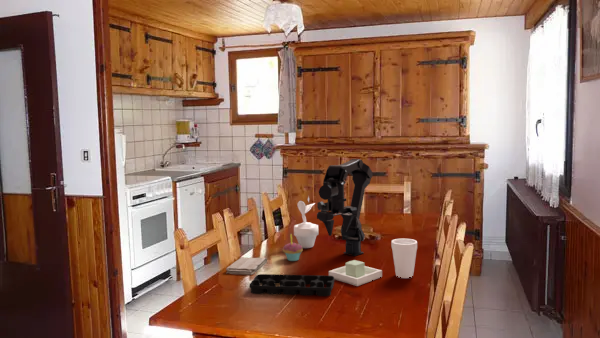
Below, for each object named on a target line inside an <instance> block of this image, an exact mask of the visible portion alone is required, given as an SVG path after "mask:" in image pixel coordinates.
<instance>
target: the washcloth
mask: <svg viewBox="0 0 600 338" xmlns="http://www.w3.org/2000/svg"><path fill="white" fill-rule="evenodd" d="M267 263H268V259H267V257H239V258H238V259H237V260H236V261H234V262H233V263H231V264H230V265H229V266H227V267H226V269H225V270H226V272H225V273H226V274H229V275H230V274H231V275H242V276H243V275H245V276H252V275H255V274H256V273H258V271H259V270H261V268H263V267H264V266H265V265H266V264H267ZM255 272H256V273H255Z"/></svg>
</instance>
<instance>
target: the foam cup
mask: <svg viewBox="0 0 600 338" xmlns="http://www.w3.org/2000/svg"><path fill="white" fill-rule="evenodd" d="M390 244H391V249H392V258H393V264H394V272H395V276H396V277H397V276H398V277H397V278H400V277H401V278H400V279H410V278H409V277H411V278H413V277H414V272H415V266H416V265H415V264H416V258H417V250H418V241H417V240H416V239H412V238H404V237H403V238H395V239H391V243H390ZM412 276H413V277H412Z"/></svg>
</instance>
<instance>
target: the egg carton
mask: <svg viewBox="0 0 600 338" xmlns="http://www.w3.org/2000/svg"><path fill="white" fill-rule="evenodd" d="M276 284H279V285H276ZM306 285H309V286H306ZM334 286H335V279H334V277H333V276H329V275H323V274H321V275H319V274H318V275H316V274H315V275H311V274H277V273H276V274H270V273H269V274H268V273H260V274H257V275H255V276H254V278H253V280H252V281H251V282H250V283H249V288H250V291H251V294H253V295H255V294H256V295H262V294H265V293H266V294H267V295H280V294H283V295H287V296H296V295H298V294H299V295H300V296H313V295H314V294H315V295H316V296H318V297H328V296H329V297H330V296H331V294H332V290H333V288H334Z"/></svg>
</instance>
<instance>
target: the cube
mask: <svg viewBox="0 0 600 338" xmlns="http://www.w3.org/2000/svg"><path fill="white" fill-rule="evenodd" d="M365 263H366V262H363V261H360V260H356V259H353V260H349V261H347V262H345V265H344V266H346V275H348V276H352V277H355V278H358V277H361V276H364V275H365V266H366V265H365Z"/></svg>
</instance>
